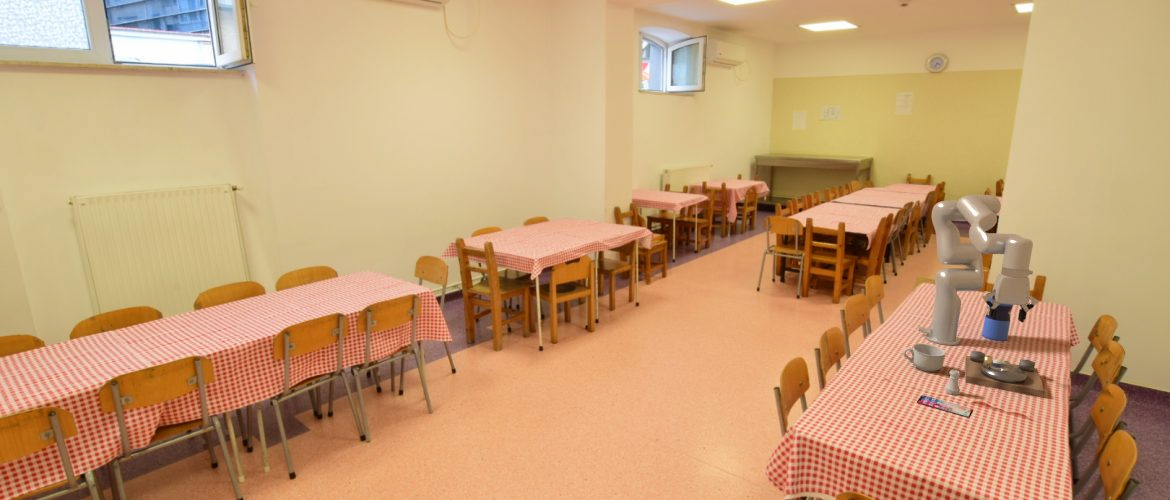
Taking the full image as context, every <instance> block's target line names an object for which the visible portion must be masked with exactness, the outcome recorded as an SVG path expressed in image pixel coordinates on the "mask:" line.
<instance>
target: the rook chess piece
mask: <svg viewBox="0 0 1170 500" xmlns="http://www.w3.org/2000/svg"><path fill="white" fill-rule="evenodd" d="M948 373H949V375H950V376H949V380H948V383H947V384H946V385H945V387H944V388H945V389H944V392H946V393H947V394H948V395H953V396H958V395H960V392H961V389H960V387H959V379H960V378H959V377H960V376H961V372H960V371H959V370H958V369H950V371H949V372H948Z"/></svg>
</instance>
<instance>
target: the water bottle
mask: <svg viewBox="0 0 1170 500" xmlns="http://www.w3.org/2000/svg"><path fill="white" fill-rule="evenodd" d="M989 301H990V302H992V301H993V299H992V298H991V297H990V298H989ZM986 305H987V311H986V313H985V315H984V321H983V326H982V327H983V328H982V332H981V333H982V334H981V336H982V337H983V338H984V339H987V340H989V341H995V342H1007V341H1008V337H1009V332H1010V325H1011V313H1012V310H1013V306H1014V305H1011V304H999V305H998V306H997V307H996V310H997V313H996V319H995V320H992V319H991V318H990V316H989V311H990V307H989V305H988V304H987V303H986Z"/></svg>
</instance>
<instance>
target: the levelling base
mask: <svg viewBox="0 0 1170 500" xmlns="http://www.w3.org/2000/svg"><path fill="white" fill-rule="evenodd" d="M985 356H986V354H985V353H984V352H982V351H977V350H971V352H970V356H969V355H965V358H964V359H965V360H964V369H965V370H964V372H965V373H964V376H965V377H964V379H965V383H967V384H972V385H977V386H981V387H987V388H992V389H997V390H1002V391H1006V392H1012V393H1016V394H1020V395H1021V394H1022V395H1027V396H1032V397H1037V398H1042V399H1044V395H1045V388H1044V386H1043V382H1042V379H1041V377H1040V374H1039V373H1040V372H1039V371H1038V368H1036V367H1035V365H1036V362H1034V361H1033V360H1031V359H1030V360H1029V359H1020V360H1019V364H1015V363H1011V362H1010V361H1007V360H1006V359H1001V358H999V359H998V358H995V359H992V363H999V364H1005V365H1009V366H1013V367H1016V368H1018V369H1021V370H1022V371H1024V372H1025V373H1026V374H1027V377H1026V381H1025V382H1024V383H1019V384H1015V383H1006V382H1001V381H997V380H994V379H991V378H989V377H987V376H985V375H984V374H982V372H981V369H982V365H983V363H984V357H985Z"/></svg>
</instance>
